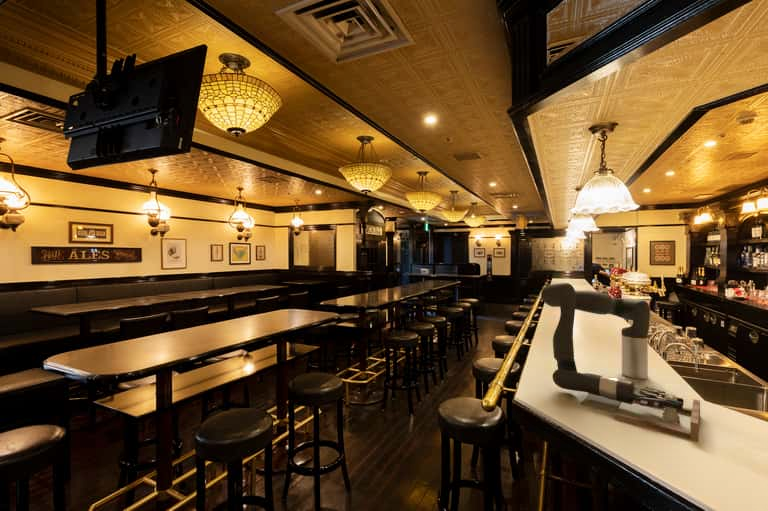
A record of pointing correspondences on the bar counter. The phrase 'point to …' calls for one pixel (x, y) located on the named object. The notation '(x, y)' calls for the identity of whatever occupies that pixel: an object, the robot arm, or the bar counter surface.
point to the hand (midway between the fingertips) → (682, 404)
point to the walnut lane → (667, 429)
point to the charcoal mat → (601, 403)
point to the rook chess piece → (670, 411)
